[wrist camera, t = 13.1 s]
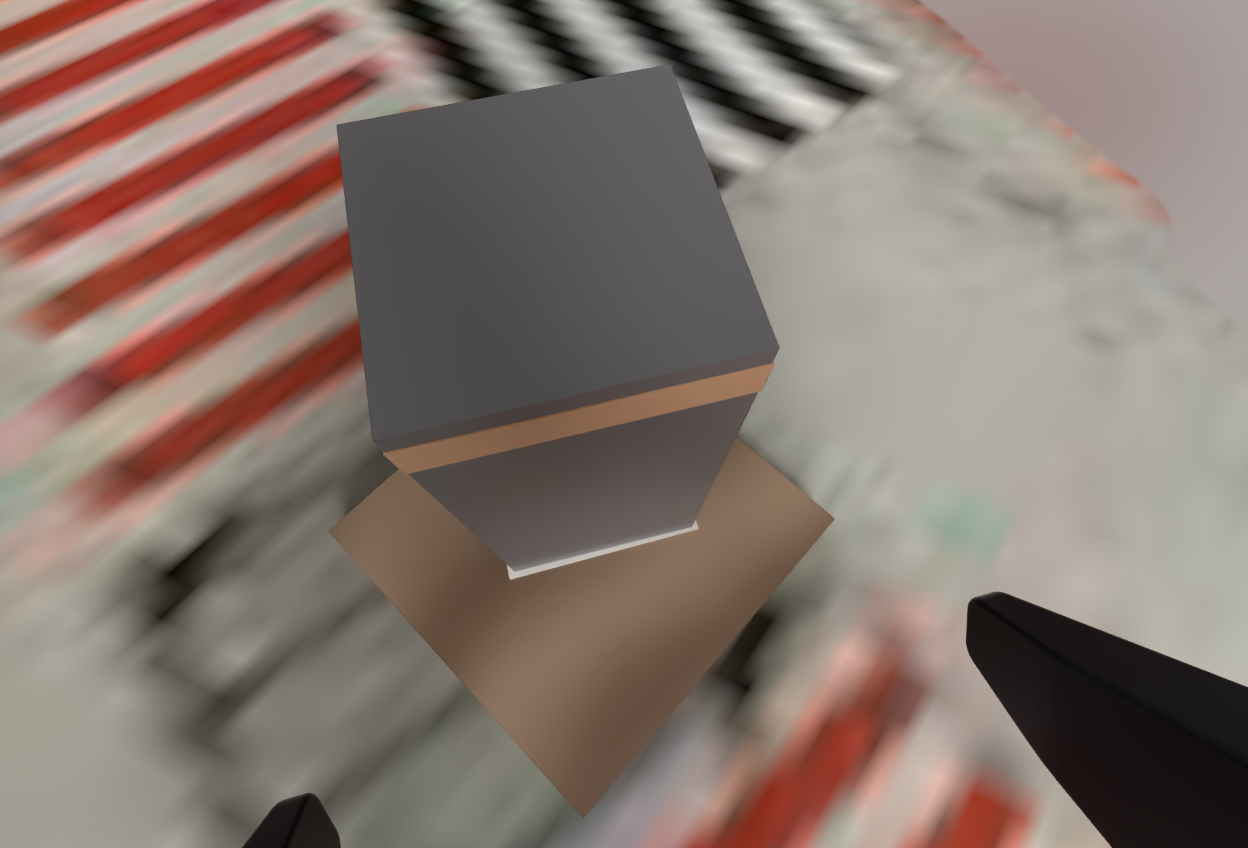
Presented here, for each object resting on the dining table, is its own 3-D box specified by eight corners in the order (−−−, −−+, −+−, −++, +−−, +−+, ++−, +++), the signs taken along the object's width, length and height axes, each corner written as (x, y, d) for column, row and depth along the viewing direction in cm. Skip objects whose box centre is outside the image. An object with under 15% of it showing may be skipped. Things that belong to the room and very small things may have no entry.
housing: (693, 527, 21) (781, 349, 9) (513, 572, 20) (370, 443, 9) (646, 368, 23) (671, 62, 11) (482, 406, 23) (334, 124, 11)
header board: (821, 527, 23) (862, 499, 19) (586, 807, 19) (577, 841, 16) (584, 326, 26) (578, 265, 22) (346, 539, 22) (289, 512, 19)
